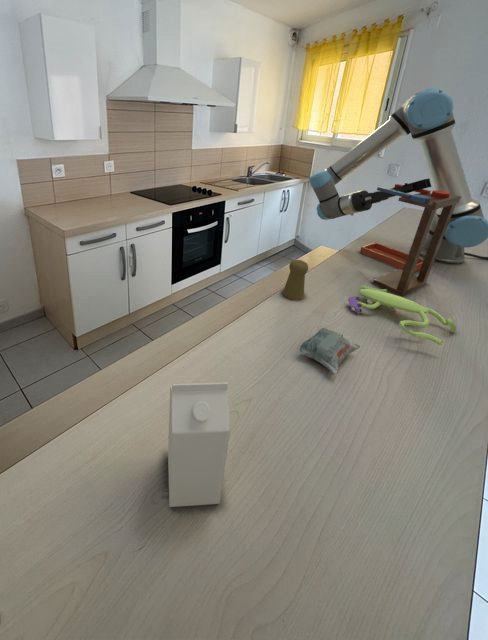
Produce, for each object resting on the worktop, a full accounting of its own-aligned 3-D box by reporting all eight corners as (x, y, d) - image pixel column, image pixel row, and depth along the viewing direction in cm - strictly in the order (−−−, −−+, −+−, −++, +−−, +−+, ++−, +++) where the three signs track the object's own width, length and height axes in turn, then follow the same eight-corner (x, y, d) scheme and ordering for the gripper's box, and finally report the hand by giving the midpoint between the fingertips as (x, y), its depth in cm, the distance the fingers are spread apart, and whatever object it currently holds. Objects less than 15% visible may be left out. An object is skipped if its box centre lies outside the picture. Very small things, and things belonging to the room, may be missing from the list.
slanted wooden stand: (372, 283, 105) (400, 194, 94) (397, 272, 113) (425, 188, 102) (402, 297, 98) (437, 202, 86) (427, 284, 106) (461, 196, 94)
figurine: (425, 361, 73) (433, 342, 71) (330, 300, 95) (334, 283, 93) (467, 339, 81) (476, 321, 79) (371, 287, 103) (376, 272, 100)
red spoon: (392, 187, 106) (393, 183, 106) (398, 186, 108) (400, 182, 108) (445, 199, 94) (446, 194, 94) (451, 197, 97) (453, 193, 96)
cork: (301, 290, 99) (307, 258, 95) (305, 301, 94) (313, 267, 90) (281, 288, 100) (287, 256, 96) (284, 299, 94) (291, 265, 90)
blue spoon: (373, 190, 101) (374, 186, 100) (382, 189, 103) (384, 185, 102) (423, 203, 88) (424, 198, 88) (432, 202, 90) (434, 197, 90)
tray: (359, 252, 128) (361, 246, 127) (373, 247, 133) (375, 242, 132) (411, 273, 113) (413, 267, 112) (424, 267, 118) (427, 260, 117)
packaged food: (357, 355, 74) (362, 338, 72) (333, 381, 66) (338, 363, 64) (321, 336, 80) (325, 319, 78) (295, 358, 72) (299, 340, 70)
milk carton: (167, 456, 51) (170, 363, 43) (212, 453, 52) (222, 362, 44) (169, 508, 44) (173, 409, 37) (219, 504, 45) (233, 407, 38)
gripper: (370, 209, 123) (441, 192, 103) (347, 214, 116) (420, 197, 95) (365, 190, 123) (435, 169, 103) (342, 194, 116) (413, 172, 96)
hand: (428, 182), depth 99 cm, fingers closed on red spoon, 2 cm apart
